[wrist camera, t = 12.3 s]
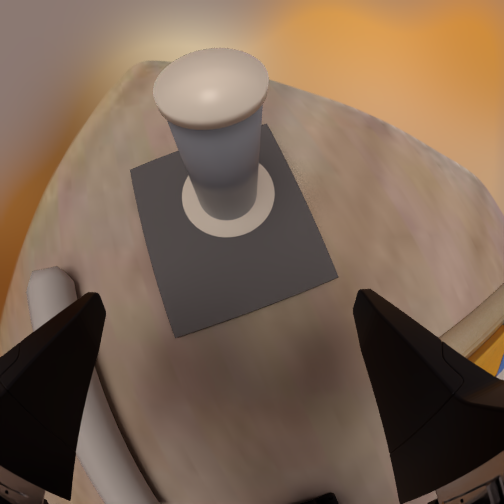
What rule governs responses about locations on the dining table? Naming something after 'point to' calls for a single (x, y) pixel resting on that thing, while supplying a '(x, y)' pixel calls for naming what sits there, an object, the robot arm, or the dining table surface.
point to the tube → (91, 406)
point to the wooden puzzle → (482, 335)
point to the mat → (228, 242)
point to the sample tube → (216, 124)
